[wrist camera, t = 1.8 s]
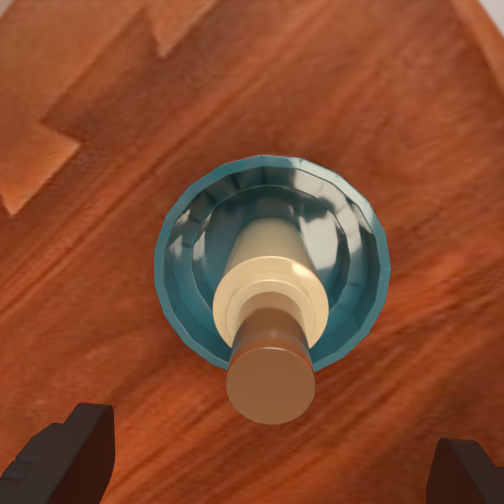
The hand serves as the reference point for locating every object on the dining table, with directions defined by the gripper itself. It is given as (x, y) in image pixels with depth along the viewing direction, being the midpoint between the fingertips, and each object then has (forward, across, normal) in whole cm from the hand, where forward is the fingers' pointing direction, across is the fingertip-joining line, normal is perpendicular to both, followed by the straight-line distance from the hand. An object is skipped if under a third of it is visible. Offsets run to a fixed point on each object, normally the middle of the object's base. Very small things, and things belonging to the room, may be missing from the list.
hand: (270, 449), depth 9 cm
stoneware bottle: (+17, 0, 0) cm, 17 cm away
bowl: (+18, 0, 0) cm, 18 cm away
